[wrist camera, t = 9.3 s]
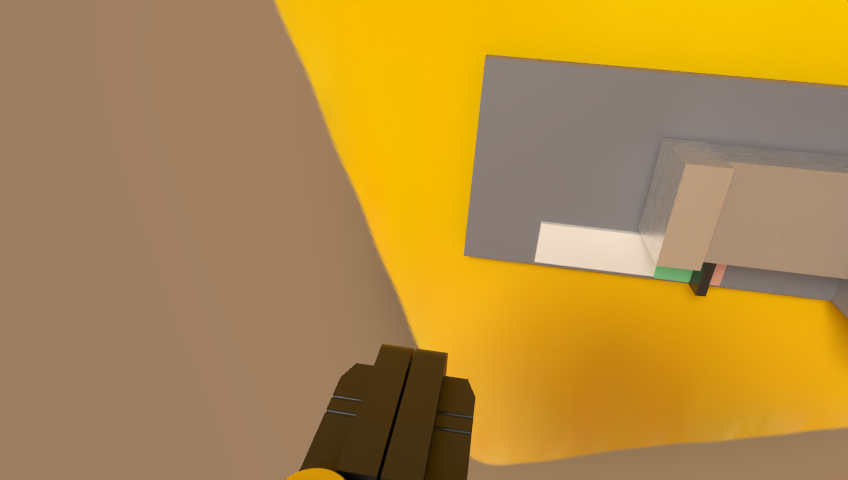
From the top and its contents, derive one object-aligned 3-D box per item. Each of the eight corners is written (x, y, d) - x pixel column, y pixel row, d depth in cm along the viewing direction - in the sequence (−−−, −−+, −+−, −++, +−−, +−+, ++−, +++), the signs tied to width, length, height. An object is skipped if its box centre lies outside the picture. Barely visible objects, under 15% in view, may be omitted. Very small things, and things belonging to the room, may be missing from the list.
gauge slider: (880, 159, 26) (939, 189, 22) (817, 296, 29) (859, 341, 26) (662, 138, 27) (685, 163, 23) (626, 273, 30) (641, 313, 27)
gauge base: (1006, 99, 25) (1169, 142, 19) (898, 300, 30) (999, 386, 24) (486, 54, 27) (479, 79, 21) (465, 247, 32) (454, 313, 26)
